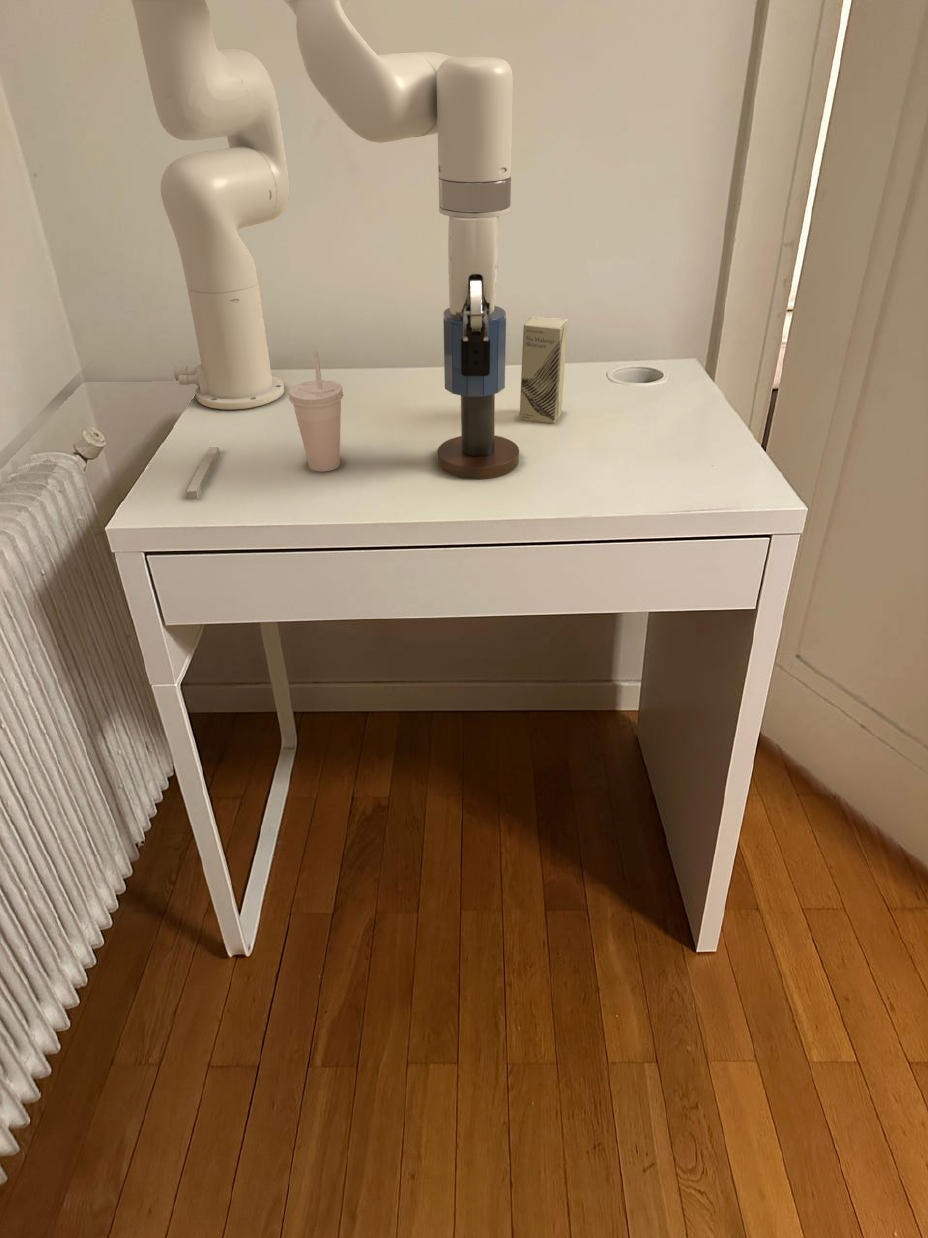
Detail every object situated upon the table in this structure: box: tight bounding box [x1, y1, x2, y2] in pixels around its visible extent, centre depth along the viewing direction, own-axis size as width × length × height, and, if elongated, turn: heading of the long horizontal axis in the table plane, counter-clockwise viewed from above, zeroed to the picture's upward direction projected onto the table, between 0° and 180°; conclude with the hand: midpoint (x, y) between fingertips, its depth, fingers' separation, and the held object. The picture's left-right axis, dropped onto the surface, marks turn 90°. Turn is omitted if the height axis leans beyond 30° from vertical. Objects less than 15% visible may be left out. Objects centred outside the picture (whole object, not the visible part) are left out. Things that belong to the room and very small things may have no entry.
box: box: [519, 315, 569, 424], centre depth 119 cm, size 5×4×13 cm
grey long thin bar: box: [186, 446, 220, 500], centre depth 109 cm, size 12×1×1 cm, turn 1°
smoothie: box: [288, 351, 345, 473], centre depth 107 cm, size 6×6×14 cm
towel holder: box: [437, 394, 520, 480], centre depth 107 cm, size 10×10×13 cm
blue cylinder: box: [442, 305, 507, 397], centre depth 103 cm, size 7×7×8 cm
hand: (474, 362), depth 104 cm, fingers closed on blue cylinder, 7 cm apart
